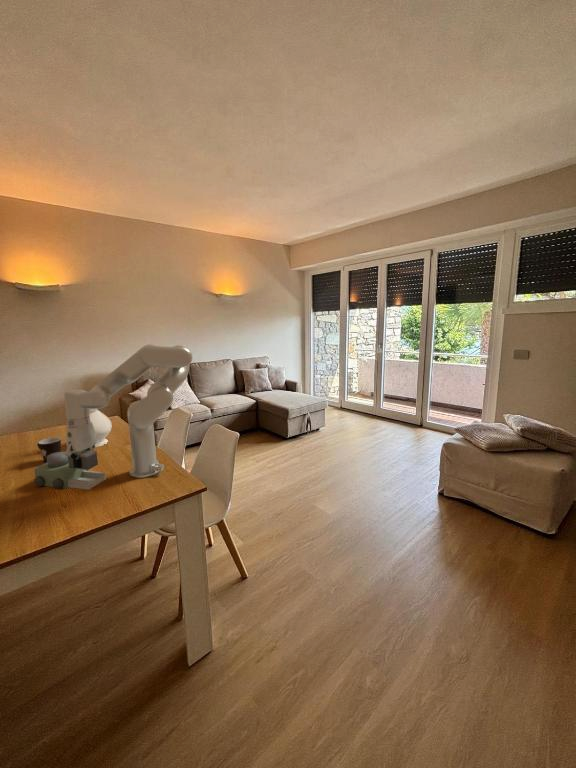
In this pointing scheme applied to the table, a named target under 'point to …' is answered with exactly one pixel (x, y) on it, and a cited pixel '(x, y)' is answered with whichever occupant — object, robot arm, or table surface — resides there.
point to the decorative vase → (100, 426)
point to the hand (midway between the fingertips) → (83, 464)
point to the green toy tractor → (65, 474)
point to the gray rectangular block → (85, 459)
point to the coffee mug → (49, 446)
